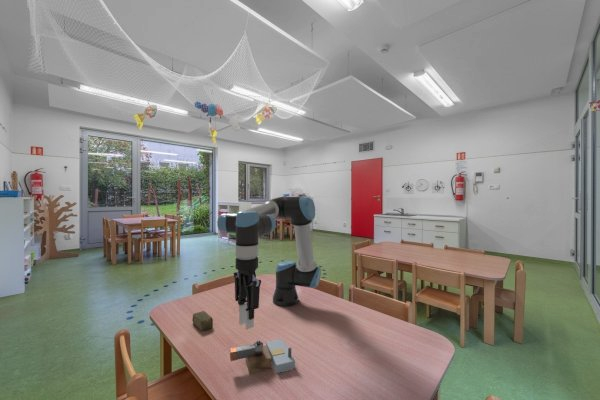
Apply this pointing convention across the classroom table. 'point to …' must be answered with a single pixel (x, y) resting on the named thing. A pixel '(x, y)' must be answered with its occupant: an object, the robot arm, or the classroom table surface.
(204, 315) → the stone block
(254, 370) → the block
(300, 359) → the classroom table surface
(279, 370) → the grey block with peg
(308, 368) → the classroom table surface
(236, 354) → the latch bar
